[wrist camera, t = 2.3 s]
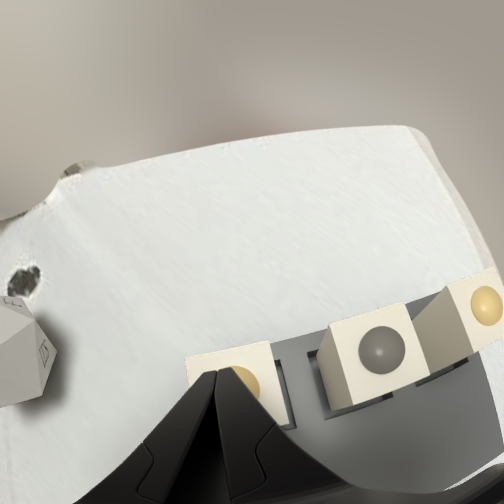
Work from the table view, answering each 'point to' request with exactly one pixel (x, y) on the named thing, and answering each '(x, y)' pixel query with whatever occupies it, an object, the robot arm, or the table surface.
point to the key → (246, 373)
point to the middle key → (370, 356)
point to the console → (392, 421)
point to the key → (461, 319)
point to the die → (22, 353)
